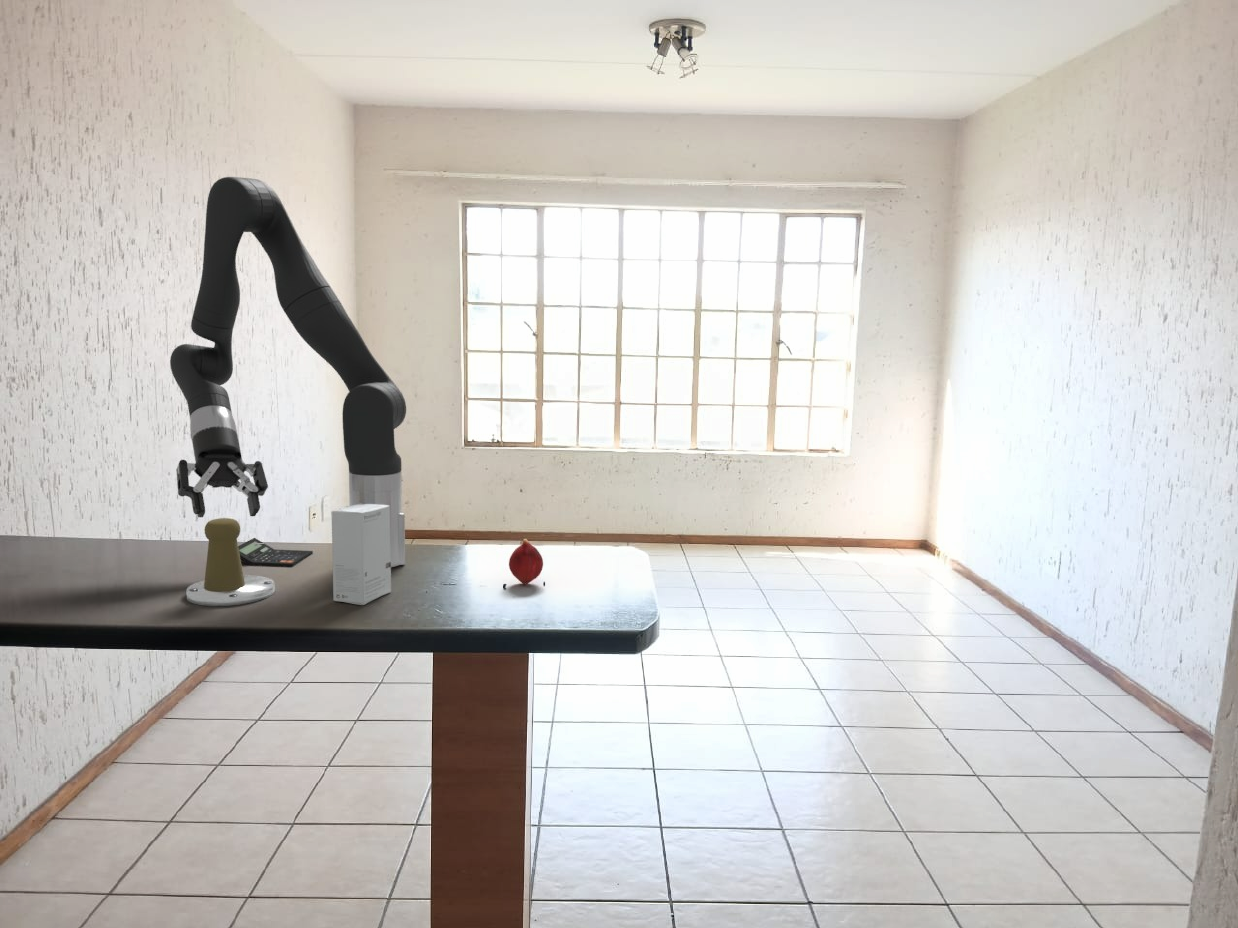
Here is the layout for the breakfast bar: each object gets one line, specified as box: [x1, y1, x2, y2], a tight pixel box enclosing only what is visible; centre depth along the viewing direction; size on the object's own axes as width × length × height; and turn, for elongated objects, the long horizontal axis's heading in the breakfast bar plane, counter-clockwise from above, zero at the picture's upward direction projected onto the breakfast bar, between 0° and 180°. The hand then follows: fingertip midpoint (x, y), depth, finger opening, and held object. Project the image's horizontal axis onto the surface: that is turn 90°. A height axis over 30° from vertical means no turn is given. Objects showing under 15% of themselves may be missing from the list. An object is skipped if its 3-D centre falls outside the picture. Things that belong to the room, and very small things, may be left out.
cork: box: [204, 517, 245, 592], centre depth 139 cm, size 6×6×11 cm
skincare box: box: [330, 504, 392, 606], centre depth 140 cm, size 8×6×15 cm
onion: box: [508, 538, 544, 586], centre depth 150 cm, size 6×6×8 cm
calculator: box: [238, 537, 314, 568], centre depth 161 cm, size 9×12×3 cm
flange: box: [185, 574, 276, 607], centre depth 140 cm, size 13×13×1 cm
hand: (228, 514), depth 149 cm, fingers open, 8 cm apart
